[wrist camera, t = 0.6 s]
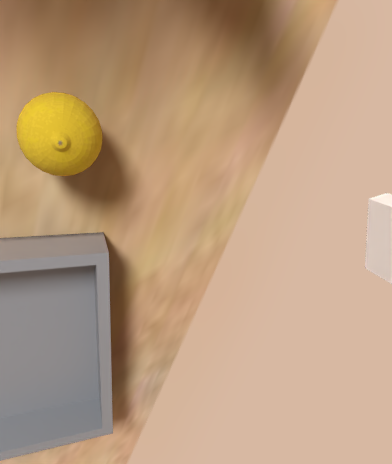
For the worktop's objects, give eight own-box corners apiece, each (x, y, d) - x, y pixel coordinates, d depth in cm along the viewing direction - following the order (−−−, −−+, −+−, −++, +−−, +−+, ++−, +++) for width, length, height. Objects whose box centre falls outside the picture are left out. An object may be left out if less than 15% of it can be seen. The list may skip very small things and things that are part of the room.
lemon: (30, 80, 26) (17, 78, 19) (104, 105, 28) (118, 112, 21) (16, 153, 27) (0, 175, 20) (88, 171, 30) (96, 197, 23)
